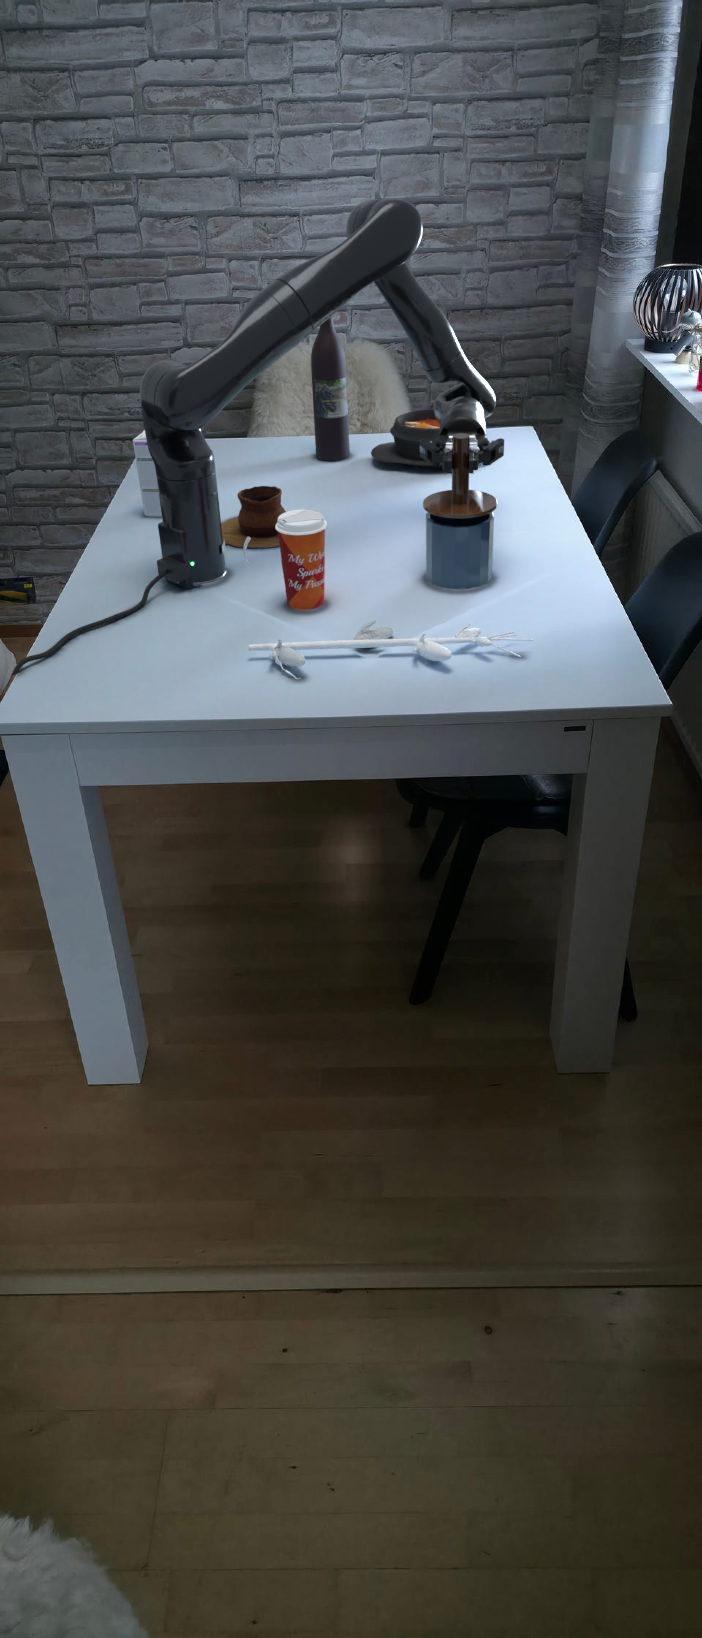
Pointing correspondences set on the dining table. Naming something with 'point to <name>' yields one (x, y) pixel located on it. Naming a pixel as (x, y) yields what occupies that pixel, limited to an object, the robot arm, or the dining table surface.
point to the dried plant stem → (377, 642)
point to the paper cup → (303, 557)
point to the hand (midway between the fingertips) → (460, 466)
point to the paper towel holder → (460, 488)
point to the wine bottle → (330, 394)
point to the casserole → (409, 439)
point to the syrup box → (147, 477)
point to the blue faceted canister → (459, 551)
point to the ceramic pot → (255, 518)
